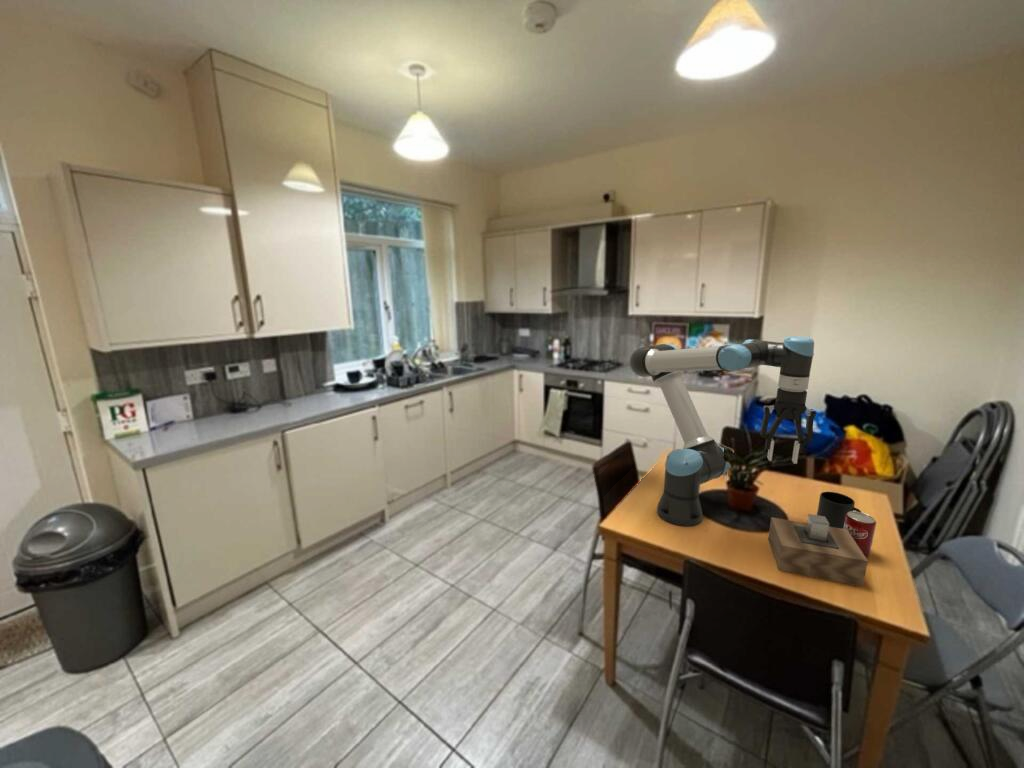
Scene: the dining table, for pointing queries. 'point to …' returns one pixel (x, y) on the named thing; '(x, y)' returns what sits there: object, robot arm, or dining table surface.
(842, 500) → the mug
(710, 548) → the dining table surface
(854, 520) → the soda can
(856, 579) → the socket block
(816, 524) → the peg
